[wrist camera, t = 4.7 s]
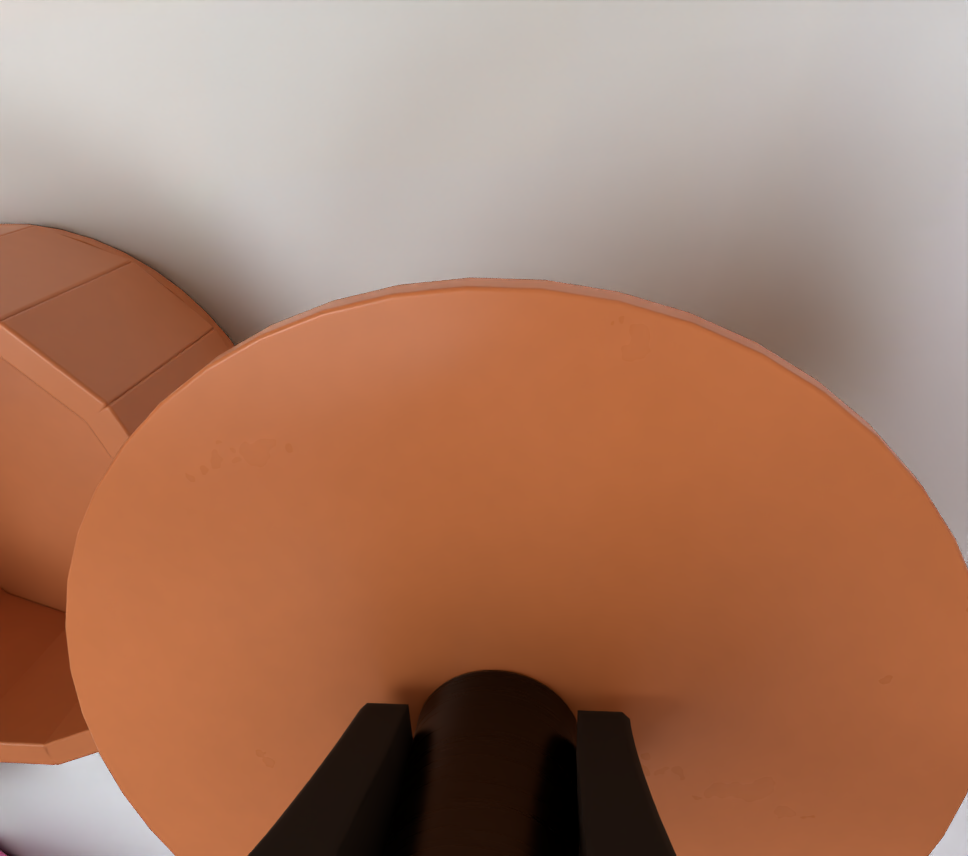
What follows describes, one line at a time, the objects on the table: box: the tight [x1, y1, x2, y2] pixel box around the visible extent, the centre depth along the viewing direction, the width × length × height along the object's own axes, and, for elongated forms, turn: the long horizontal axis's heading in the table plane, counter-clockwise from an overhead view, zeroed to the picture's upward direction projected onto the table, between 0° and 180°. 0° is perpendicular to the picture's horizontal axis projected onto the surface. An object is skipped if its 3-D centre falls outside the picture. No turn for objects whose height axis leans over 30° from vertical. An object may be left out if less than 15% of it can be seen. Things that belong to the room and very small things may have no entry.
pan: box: [0, 224, 234, 765], centre depth 20 cm, size 12×18×5 cm
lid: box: [65, 278, 968, 856], centre depth 11 cm, size 13×13×4 cm
